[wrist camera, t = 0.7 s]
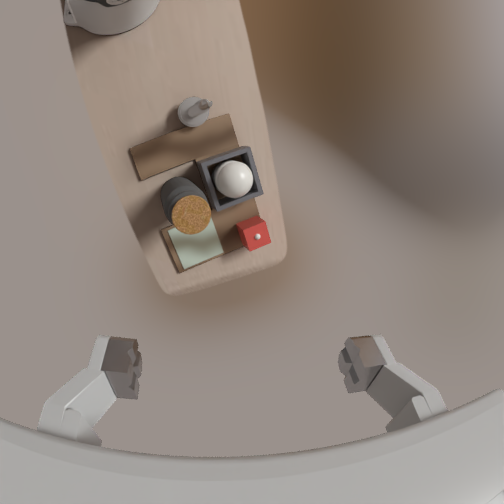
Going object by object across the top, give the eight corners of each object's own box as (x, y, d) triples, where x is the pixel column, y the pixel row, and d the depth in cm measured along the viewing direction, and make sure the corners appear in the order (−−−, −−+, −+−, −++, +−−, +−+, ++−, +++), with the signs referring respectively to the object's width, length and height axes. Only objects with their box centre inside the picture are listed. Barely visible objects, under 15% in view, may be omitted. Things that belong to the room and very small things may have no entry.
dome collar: (196, 161, 46) (200, 163, 42) (241, 146, 47) (249, 146, 44) (211, 206, 49) (217, 211, 46) (254, 190, 51) (263, 194, 47)
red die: (235, 223, 52) (244, 231, 48) (256, 215, 52) (266, 222, 49) (242, 243, 53) (250, 252, 50) (262, 235, 54) (272, 243, 50)
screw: (211, 118, 44) (185, 132, 44) (198, 93, 42) (171, 107, 41) (234, 111, 33) (198, 129, 32) (216, 77, 31) (180, 94, 30)
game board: (129, 148, 42) (129, 148, 41) (228, 113, 45) (229, 113, 44) (179, 272, 52) (179, 273, 51) (264, 235, 55) (266, 237, 54)
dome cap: (206, 166, 45) (215, 170, 40) (239, 155, 47) (252, 157, 41) (217, 198, 48) (227, 206, 42) (248, 186, 49) (262, 193, 43)
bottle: (183, 217, 49) (198, 247, 35) (153, 200, 46) (157, 224, 33) (202, 188, 48) (225, 207, 35) (173, 169, 45) (184, 180, 32)
